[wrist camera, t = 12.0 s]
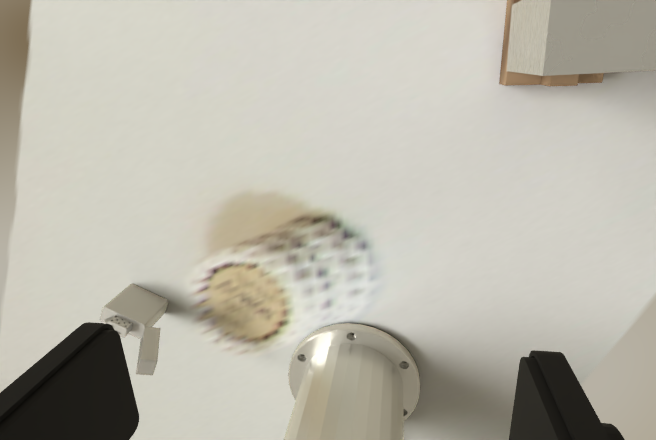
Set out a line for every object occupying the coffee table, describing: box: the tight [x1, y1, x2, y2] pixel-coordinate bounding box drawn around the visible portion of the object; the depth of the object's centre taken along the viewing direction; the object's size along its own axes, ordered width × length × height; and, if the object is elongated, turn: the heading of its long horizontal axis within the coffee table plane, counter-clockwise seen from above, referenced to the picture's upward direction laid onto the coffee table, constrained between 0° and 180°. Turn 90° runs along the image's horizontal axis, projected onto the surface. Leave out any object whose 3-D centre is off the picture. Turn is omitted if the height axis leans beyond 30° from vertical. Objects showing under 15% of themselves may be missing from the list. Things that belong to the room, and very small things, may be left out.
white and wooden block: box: [507, 0, 656, 76], centre depth 24 cm, size 5×6×8 cm
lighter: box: [100, 284, 169, 375], centre depth 39 cm, size 7×2×8 cm, turn 67°
